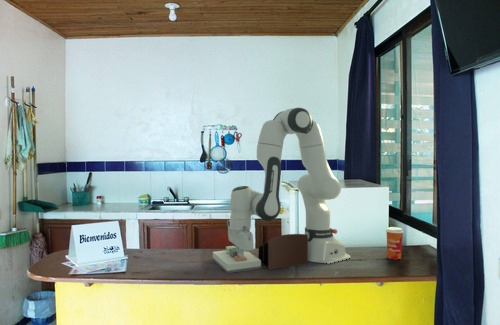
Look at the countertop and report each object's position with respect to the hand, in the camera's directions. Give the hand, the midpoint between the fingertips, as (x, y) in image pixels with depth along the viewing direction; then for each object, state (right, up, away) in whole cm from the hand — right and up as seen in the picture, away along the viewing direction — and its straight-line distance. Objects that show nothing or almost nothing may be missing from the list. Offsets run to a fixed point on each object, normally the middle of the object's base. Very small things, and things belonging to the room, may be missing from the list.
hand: (240, 256), depth 151 cm
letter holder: (+19, -5, +6) cm, 20 cm away
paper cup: (+71, -5, +14) cm, 73 cm away
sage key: (-4, -1, +10) cm, 11 cm away
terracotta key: (0, -3, 0) cm, 3 cm away
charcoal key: (-2, -2, +5) cm, 6 cm away
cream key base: (-2, -5, +5) cm, 7 cm away
